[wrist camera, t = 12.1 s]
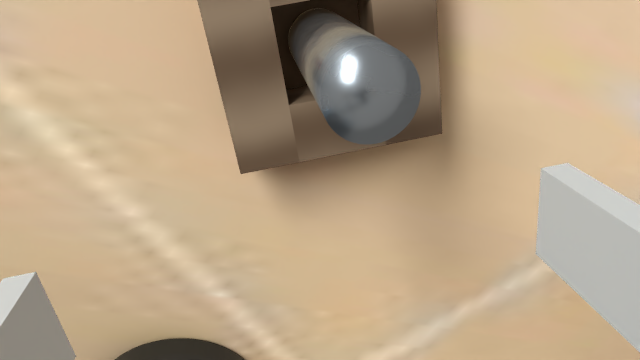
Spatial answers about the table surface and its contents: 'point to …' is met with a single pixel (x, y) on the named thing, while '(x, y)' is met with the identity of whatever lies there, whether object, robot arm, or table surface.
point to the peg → (354, 77)
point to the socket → (299, 103)
